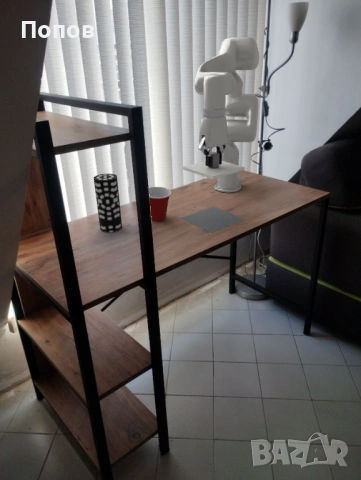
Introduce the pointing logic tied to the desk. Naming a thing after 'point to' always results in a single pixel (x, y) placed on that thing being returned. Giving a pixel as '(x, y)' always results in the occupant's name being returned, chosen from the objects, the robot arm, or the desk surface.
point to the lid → (214, 168)
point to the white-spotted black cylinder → (108, 202)
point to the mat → (212, 219)
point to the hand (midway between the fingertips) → (213, 164)
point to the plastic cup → (159, 202)
